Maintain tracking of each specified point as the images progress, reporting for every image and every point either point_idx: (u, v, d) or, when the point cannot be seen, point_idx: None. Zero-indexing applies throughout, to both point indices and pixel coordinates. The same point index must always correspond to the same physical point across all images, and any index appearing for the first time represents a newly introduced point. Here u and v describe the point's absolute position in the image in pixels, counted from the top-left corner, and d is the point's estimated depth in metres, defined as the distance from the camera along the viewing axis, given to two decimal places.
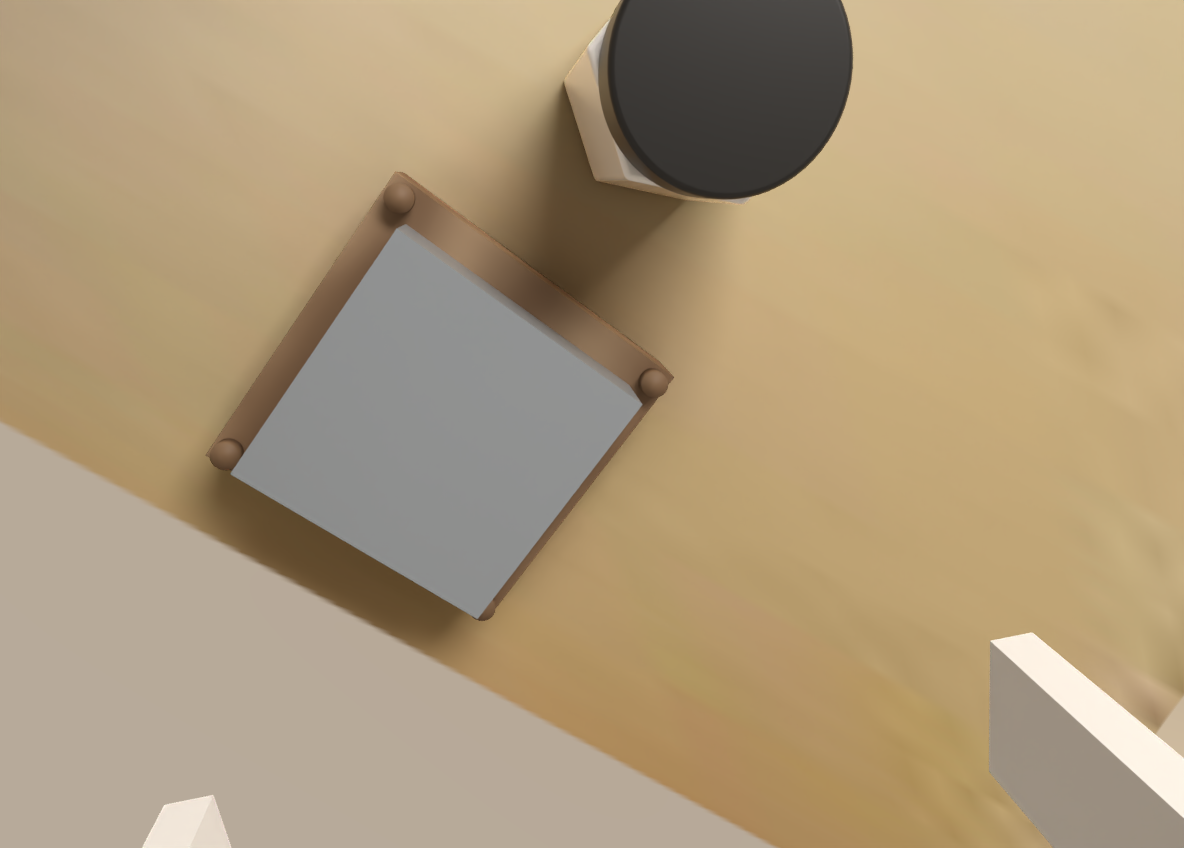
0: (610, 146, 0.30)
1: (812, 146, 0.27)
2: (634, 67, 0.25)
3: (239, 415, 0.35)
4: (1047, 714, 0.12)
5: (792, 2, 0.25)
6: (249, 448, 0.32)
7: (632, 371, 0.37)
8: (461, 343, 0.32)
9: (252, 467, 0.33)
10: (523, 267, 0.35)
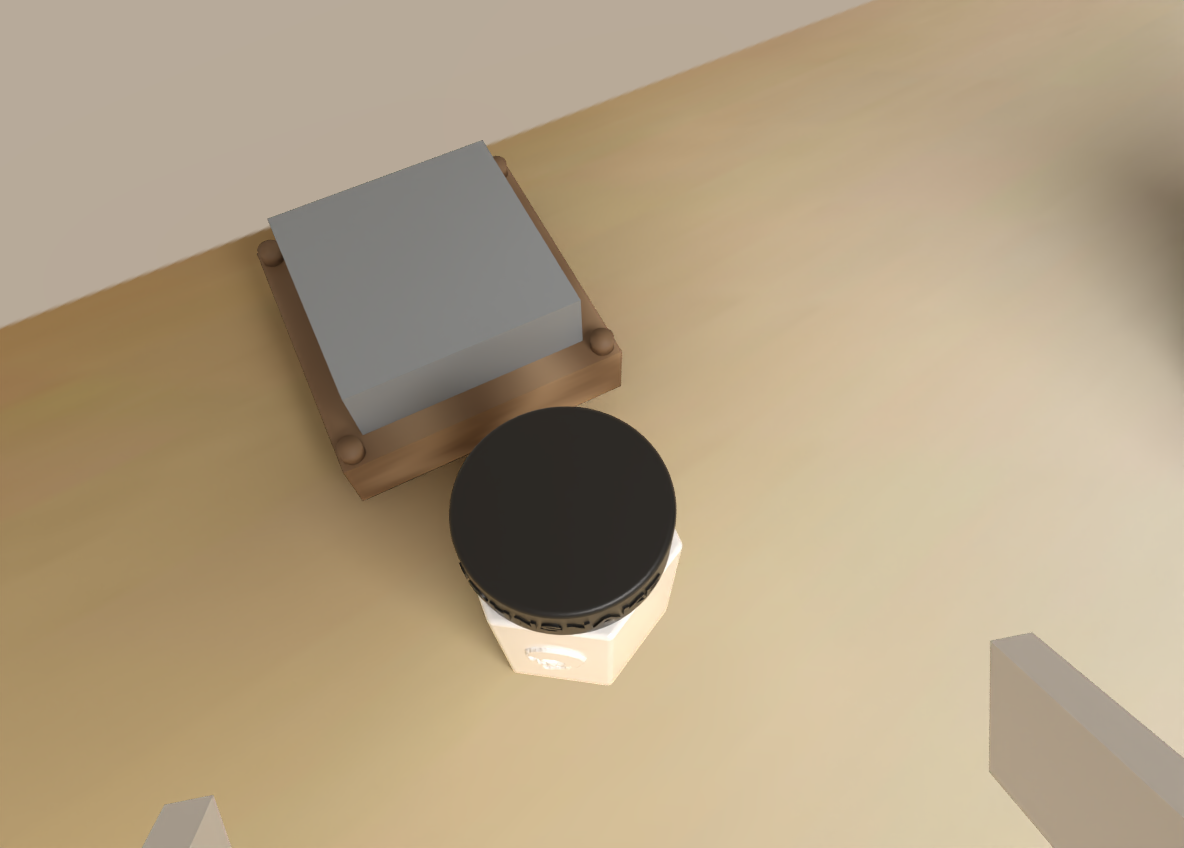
0: None
1: (465, 544, 0.28)
2: (601, 431, 0.30)
3: (516, 189, 0.47)
4: (1047, 715, 0.12)
5: (588, 571, 0.27)
6: (491, 157, 0.43)
7: (371, 443, 0.39)
8: (476, 301, 0.39)
9: (478, 152, 0.43)
10: (505, 401, 0.40)
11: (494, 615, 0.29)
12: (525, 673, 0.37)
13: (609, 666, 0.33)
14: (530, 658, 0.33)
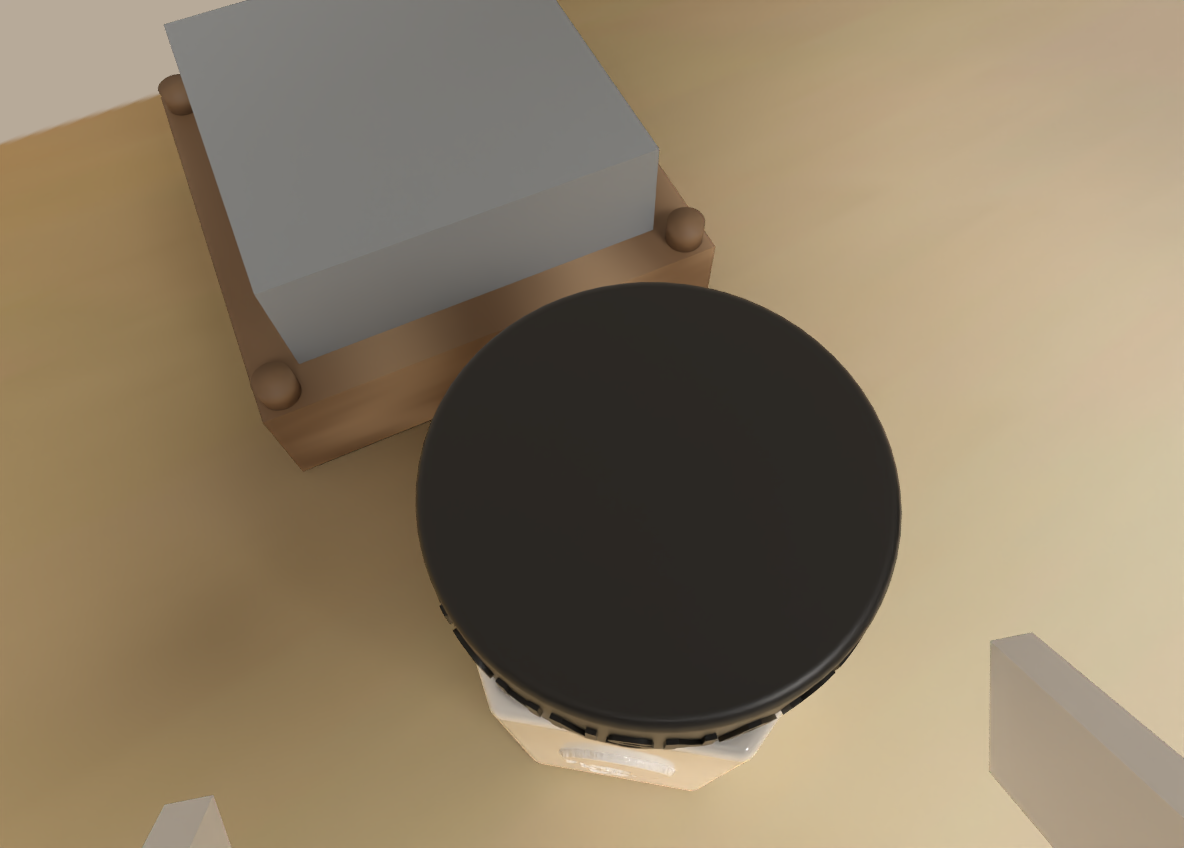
0: None
1: (446, 553, 0.13)
2: (732, 329, 0.15)
3: None
4: (1047, 715, 0.12)
5: (719, 622, 0.12)
6: None
7: (312, 376, 0.24)
8: (487, 147, 0.24)
9: None
10: None
11: (505, 699, 0.14)
12: (553, 765, 0.22)
13: (713, 780, 0.18)
14: (568, 759, 0.18)
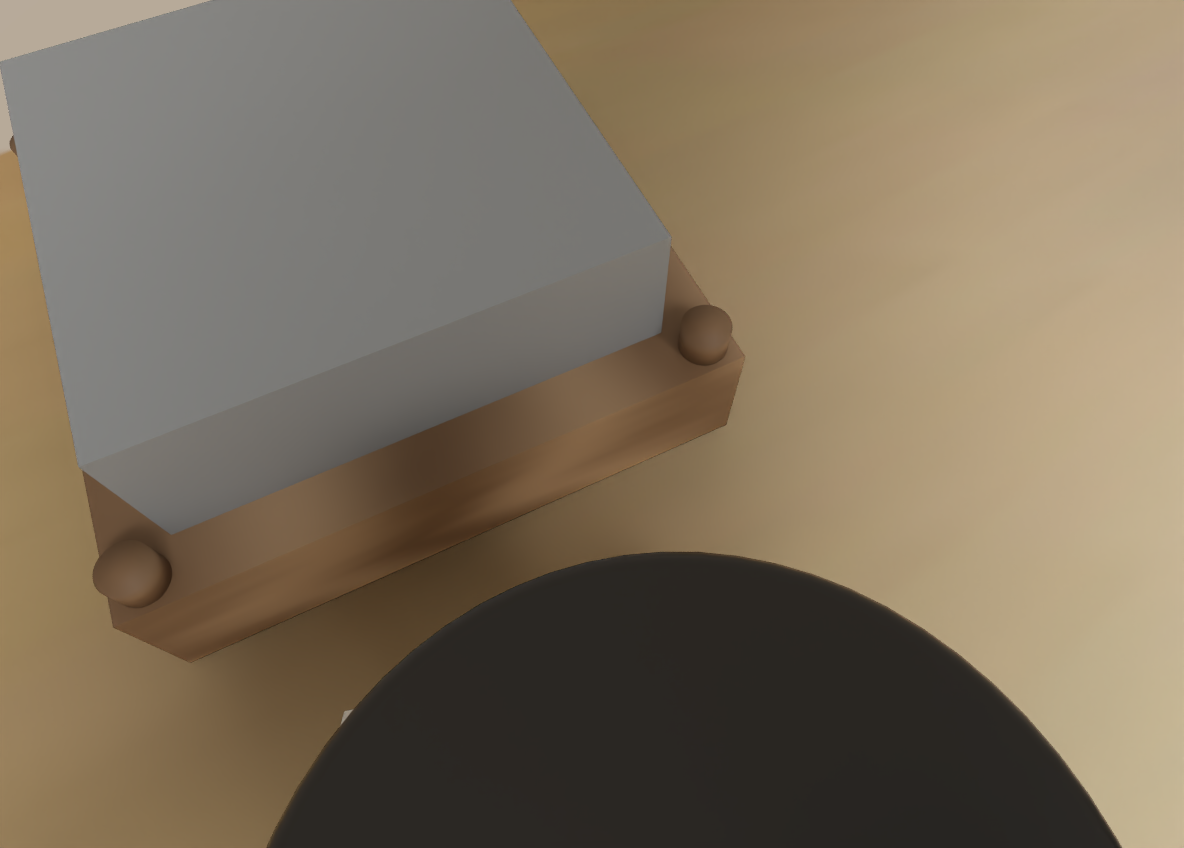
0: None
1: None
2: (833, 661, 0.08)
3: None
4: None
5: None
6: None
7: (188, 554, 0.17)
8: (430, 236, 0.17)
9: None
10: (494, 462, 0.18)
11: None
12: None
13: None
14: None
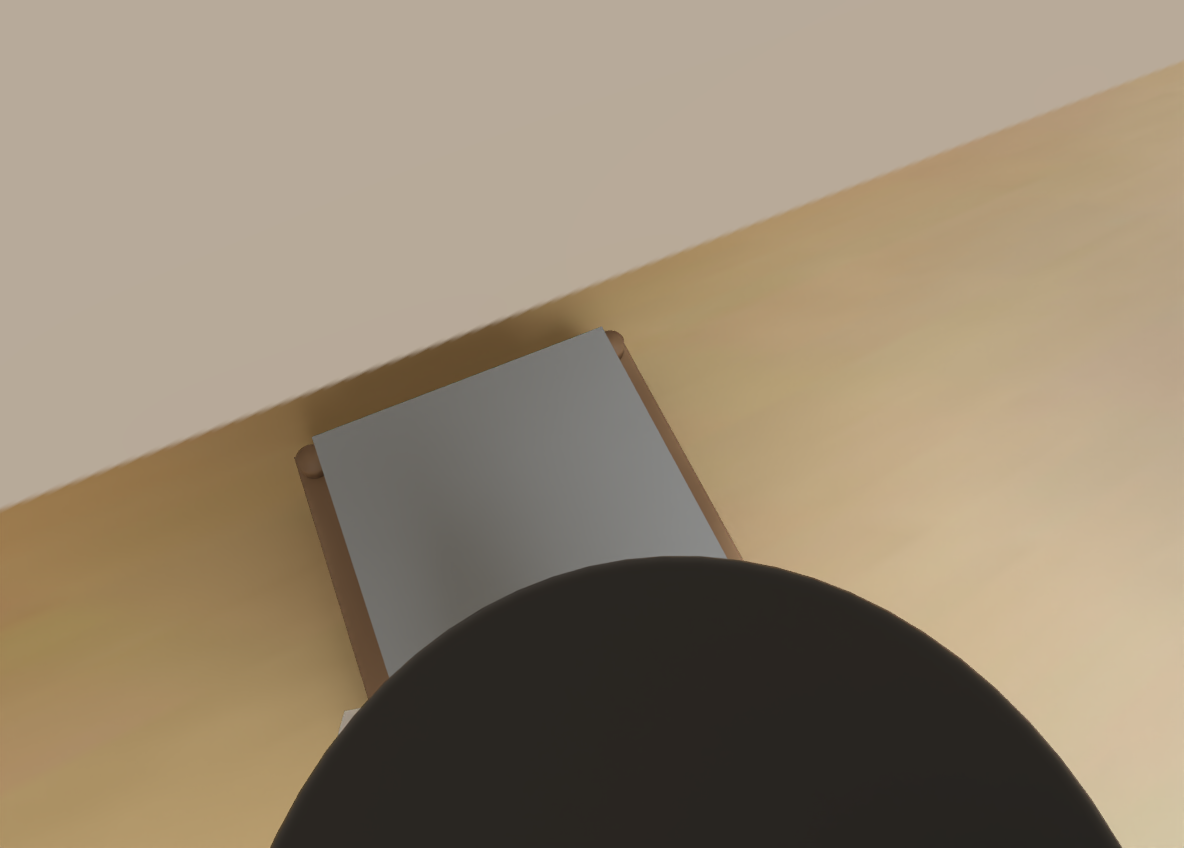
0: None
1: None
2: (835, 666, 0.08)
3: (635, 376, 0.36)
4: None
5: None
6: (614, 353, 0.32)
7: None
8: None
9: (596, 345, 0.32)
10: None
11: None
12: None
13: None
14: None
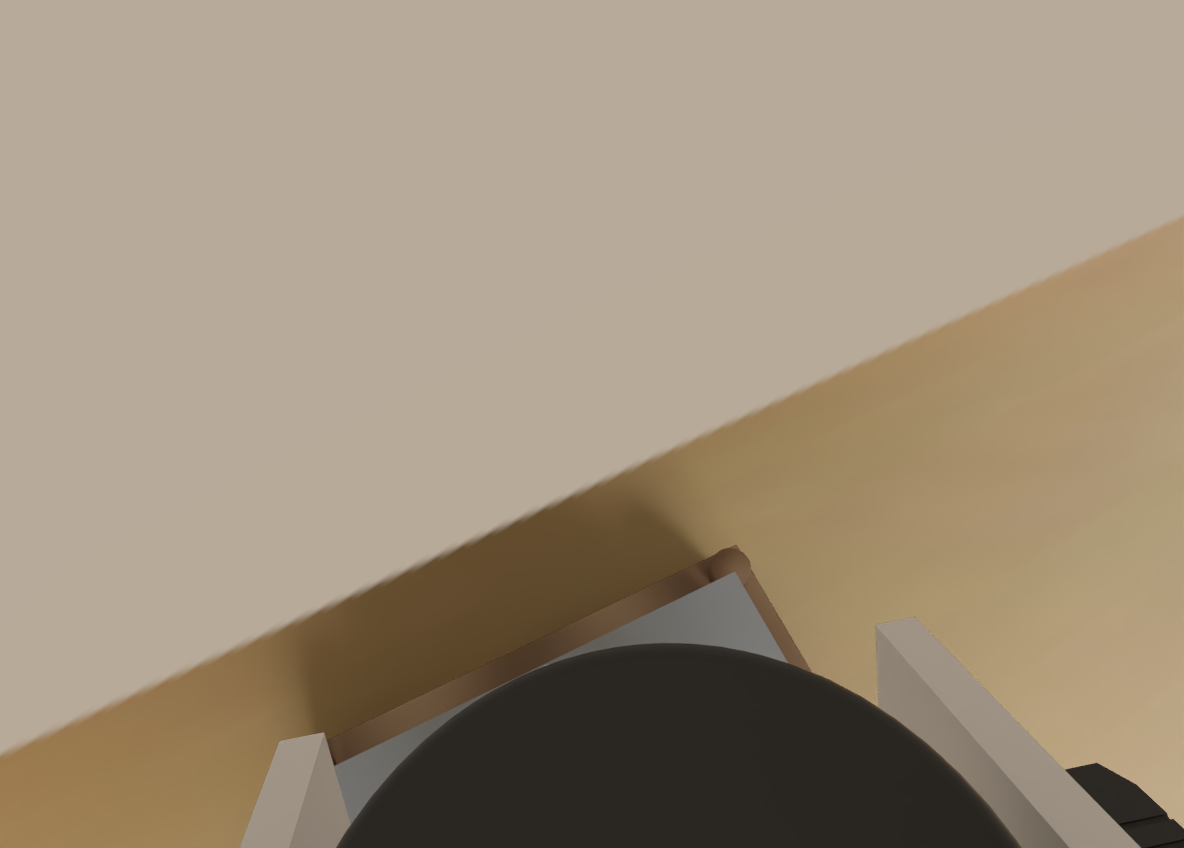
0: None
1: None
2: (811, 753, 0.08)
3: (767, 614, 0.25)
4: (917, 692, 0.13)
5: None
6: (758, 617, 0.22)
7: None
8: None
9: (730, 604, 0.22)
10: None
11: None
12: None
13: None
14: None
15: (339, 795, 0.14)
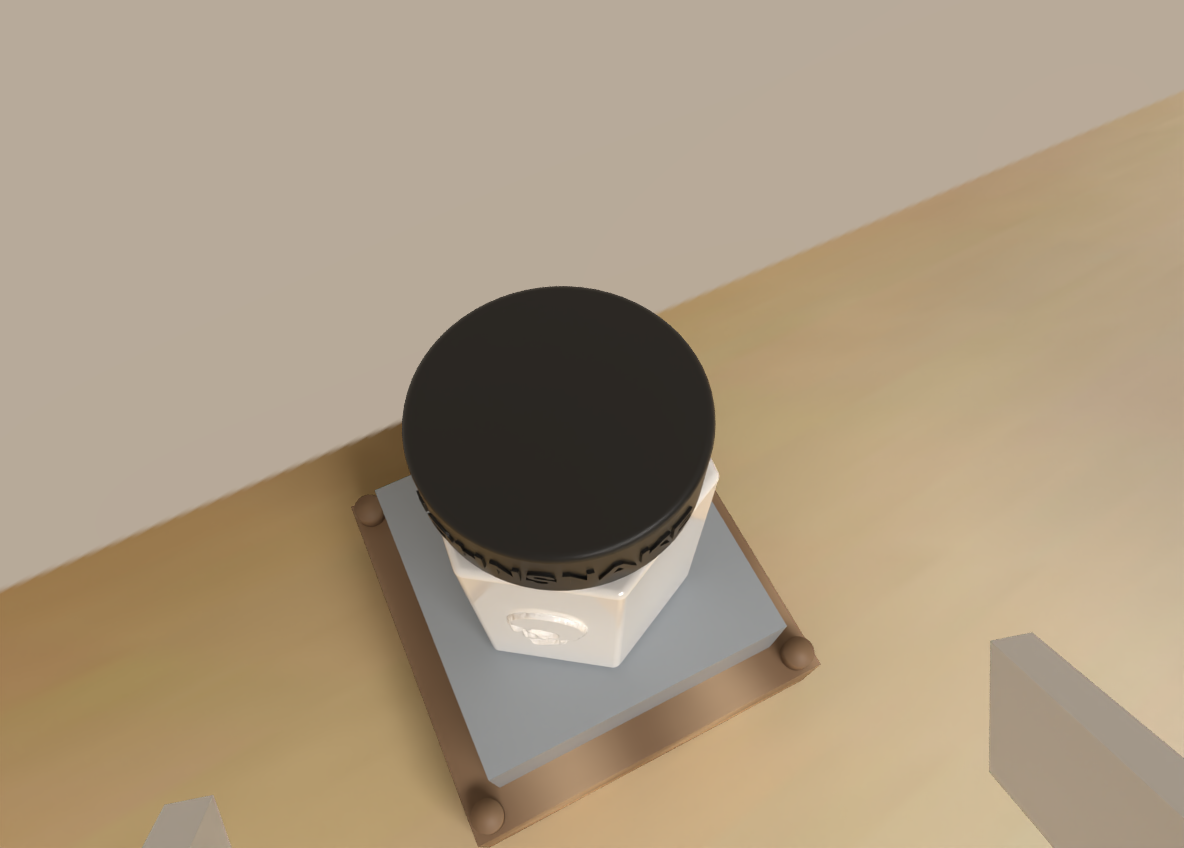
0: None
1: (422, 460, 0.20)
2: (612, 317, 0.22)
3: None
4: (1047, 715, 0.12)
5: (594, 498, 0.20)
6: None
7: (511, 799, 0.31)
8: (652, 625, 0.30)
9: None
10: (679, 738, 0.32)
11: (463, 564, 0.22)
12: (509, 651, 0.29)
13: (617, 640, 0.25)
14: (514, 628, 0.26)
15: None
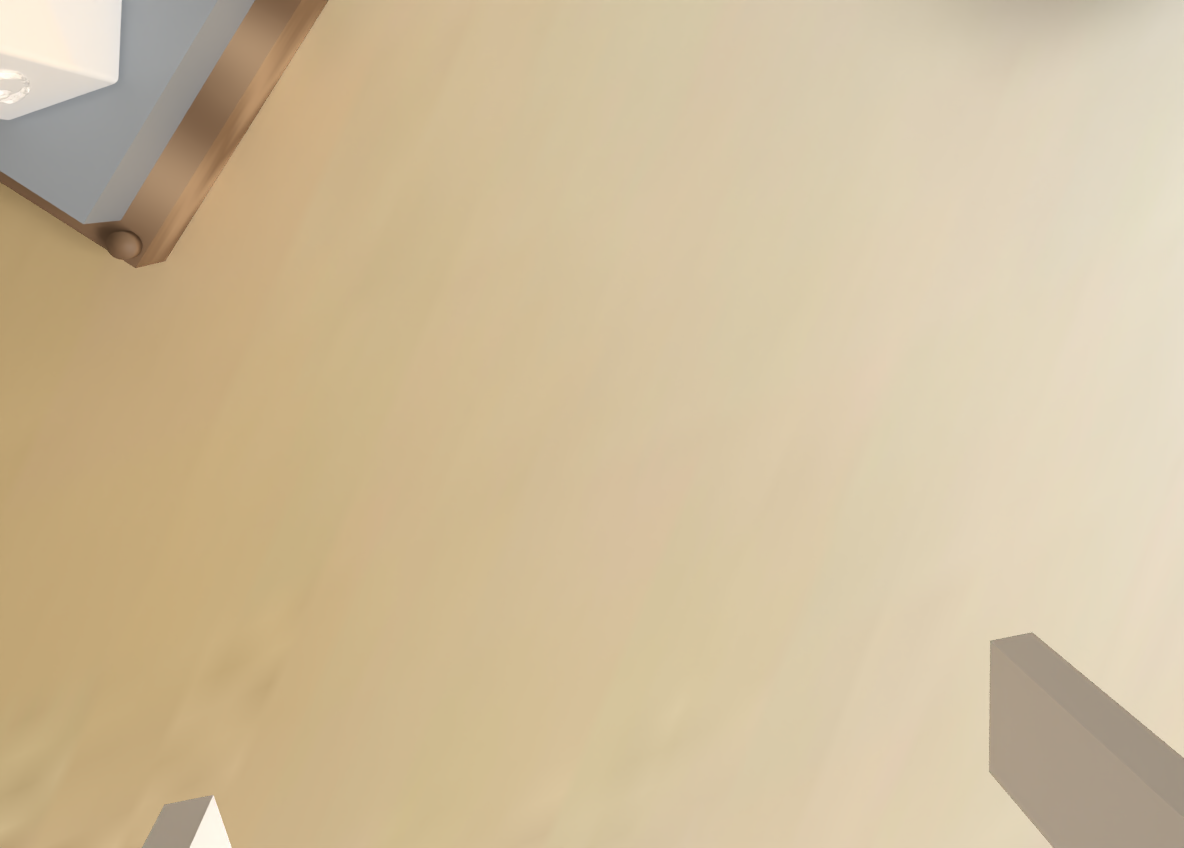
0: None
1: None
2: None
3: None
4: (1048, 714, 0.12)
5: None
6: None
7: (136, 224, 0.36)
8: (124, 26, 0.31)
9: None
10: (233, 108, 0.35)
11: None
12: (19, 116, 0.31)
13: (59, 67, 0.27)
14: None
15: None
